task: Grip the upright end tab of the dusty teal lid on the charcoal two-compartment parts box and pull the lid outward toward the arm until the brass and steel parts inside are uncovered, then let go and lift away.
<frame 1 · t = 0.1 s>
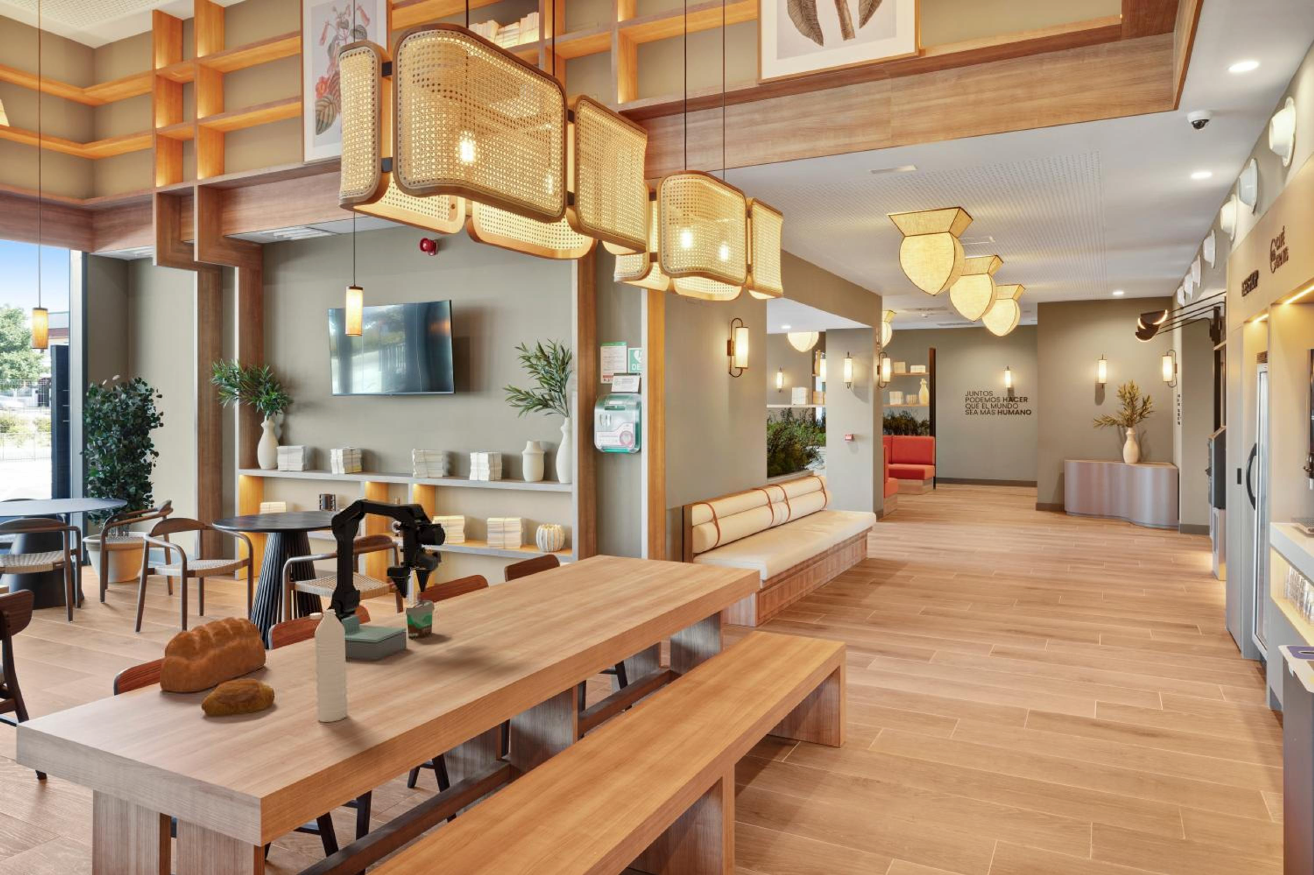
hand: (413, 595, 260), 15 cm above the table, fingers open, 9 cm apart
lid: (368, 626, 249), point 8 cm above the table, slide at 0.0 cm
water bottle: (329, 719, 193), on the table
food container: (424, 635, 269), on the table
parts box: (369, 652, 249), on the table
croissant: (240, 708, 203), on the table
bread: (215, 679, 228), on the table
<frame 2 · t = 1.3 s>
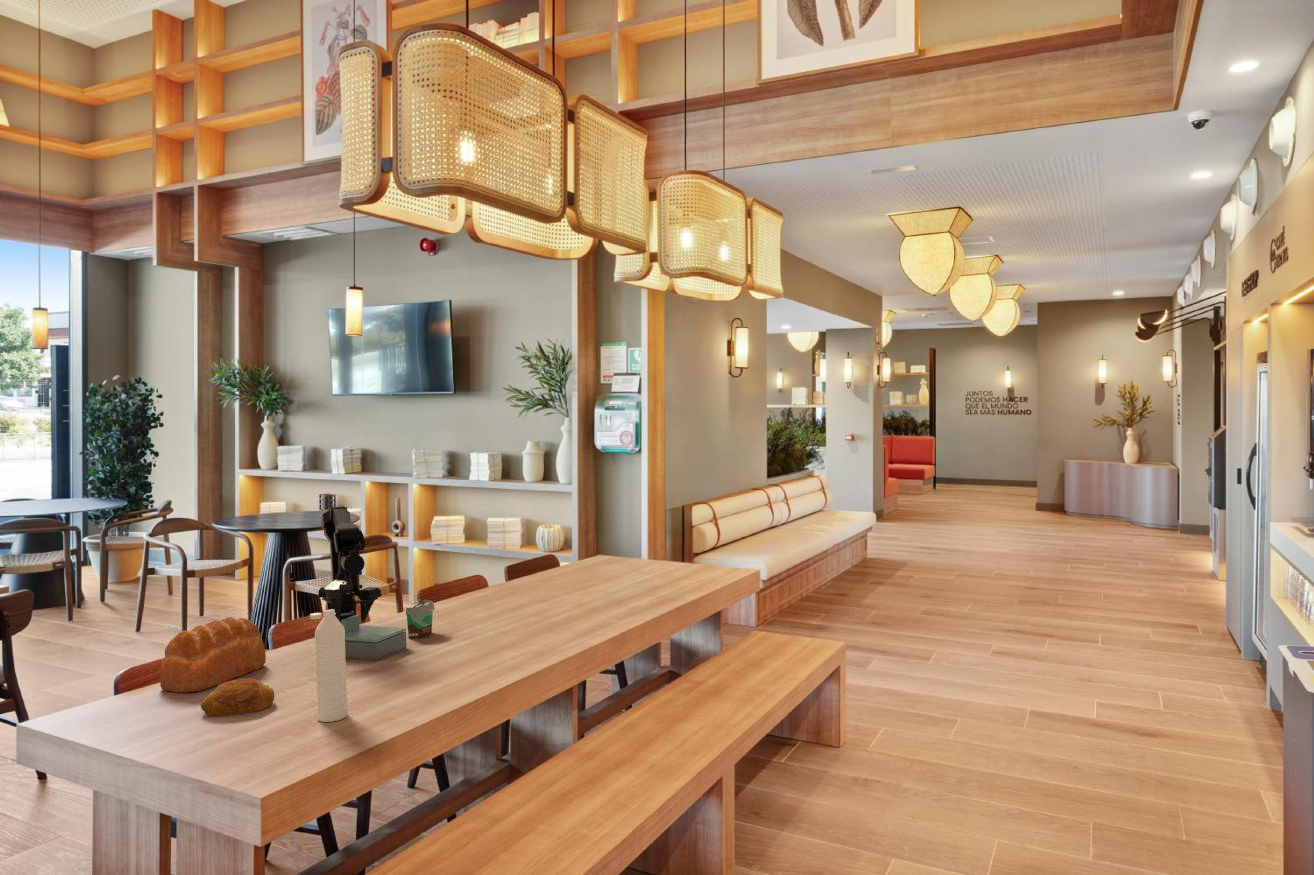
hand: (350, 621, 252), 9 cm above the table, fingers open, 9 cm apart
nothing on the table moved.
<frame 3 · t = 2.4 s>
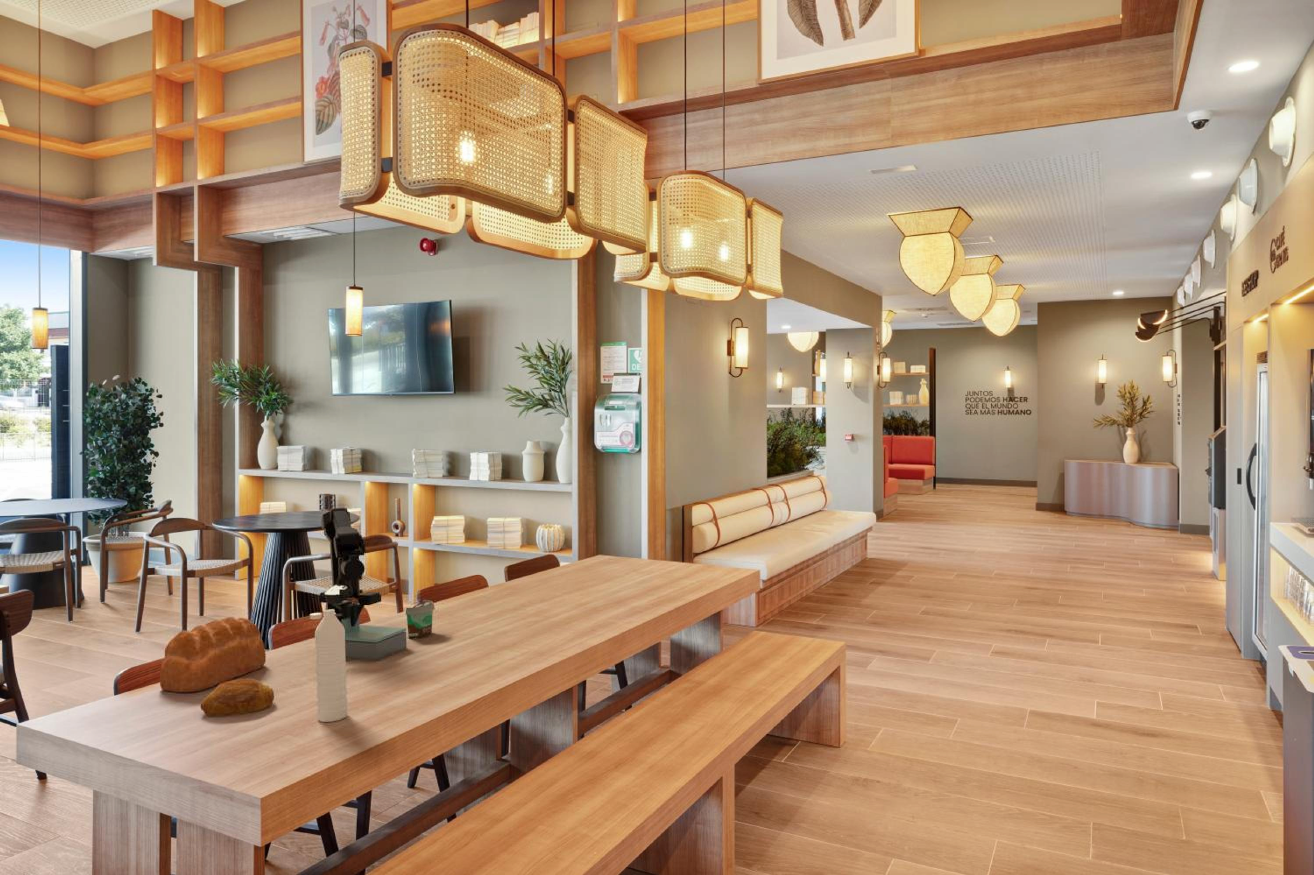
hand: (350, 626, 251), 8 cm above the table, fingers closed, pressing on lid
lid: (368, 626, 249), point 8 cm above the table, slide at 0.0 cm, touching gripper
everything else where it was.
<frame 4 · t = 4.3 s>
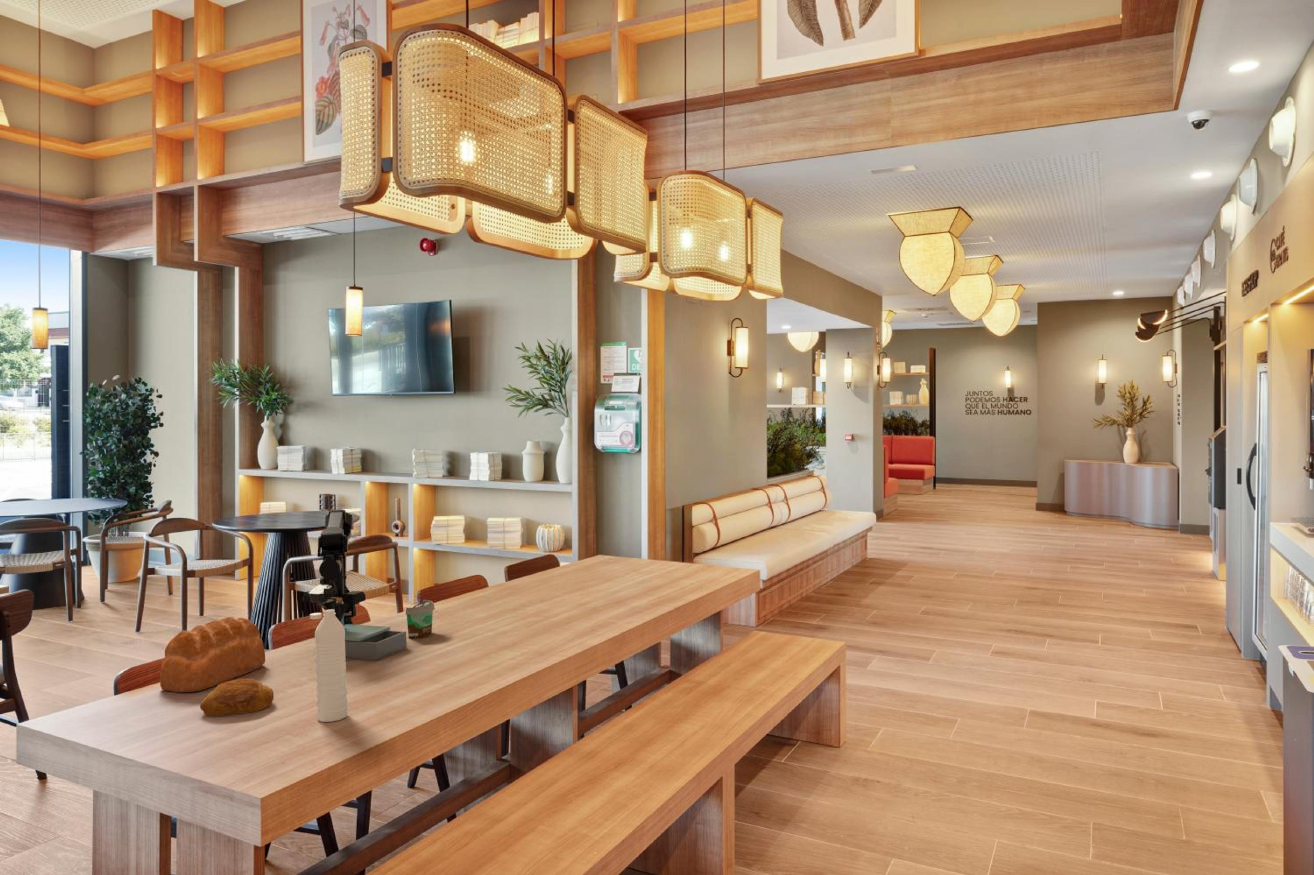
hand: (335, 625, 253), 8 cm above the table, fingers closed on lid, 2 cm apart
lid: (352, 625, 251), point 8 cm above the table, slide at 5.7 cm, touching gripper
everything else where it was.
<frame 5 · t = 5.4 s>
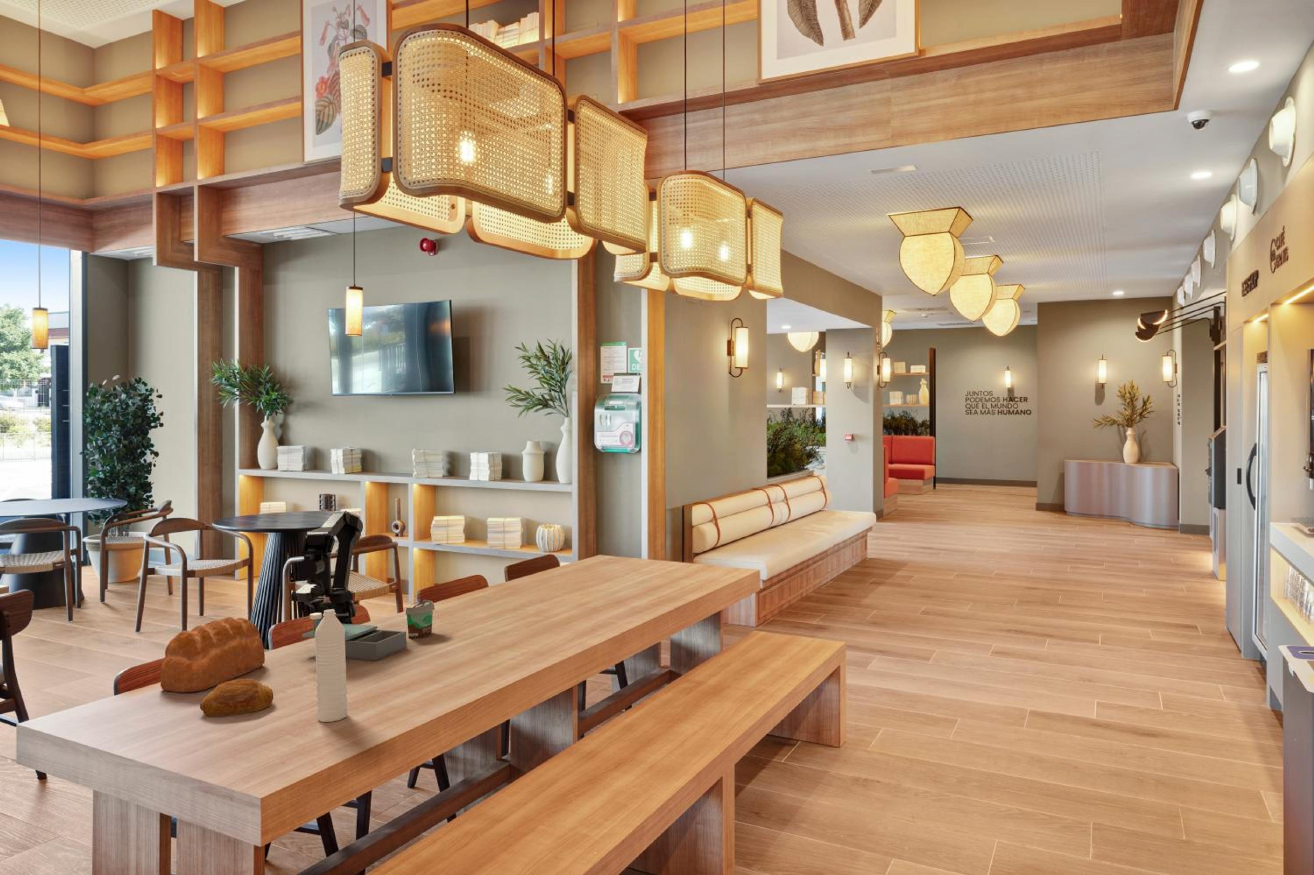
hand: (322, 624, 255), 8 cm above the table, fingers closed on lid, 2 cm apart
lid: (340, 624, 253), point 8 cm above the table, slide at 10.3 cm, touching gripper
everything else where it was.
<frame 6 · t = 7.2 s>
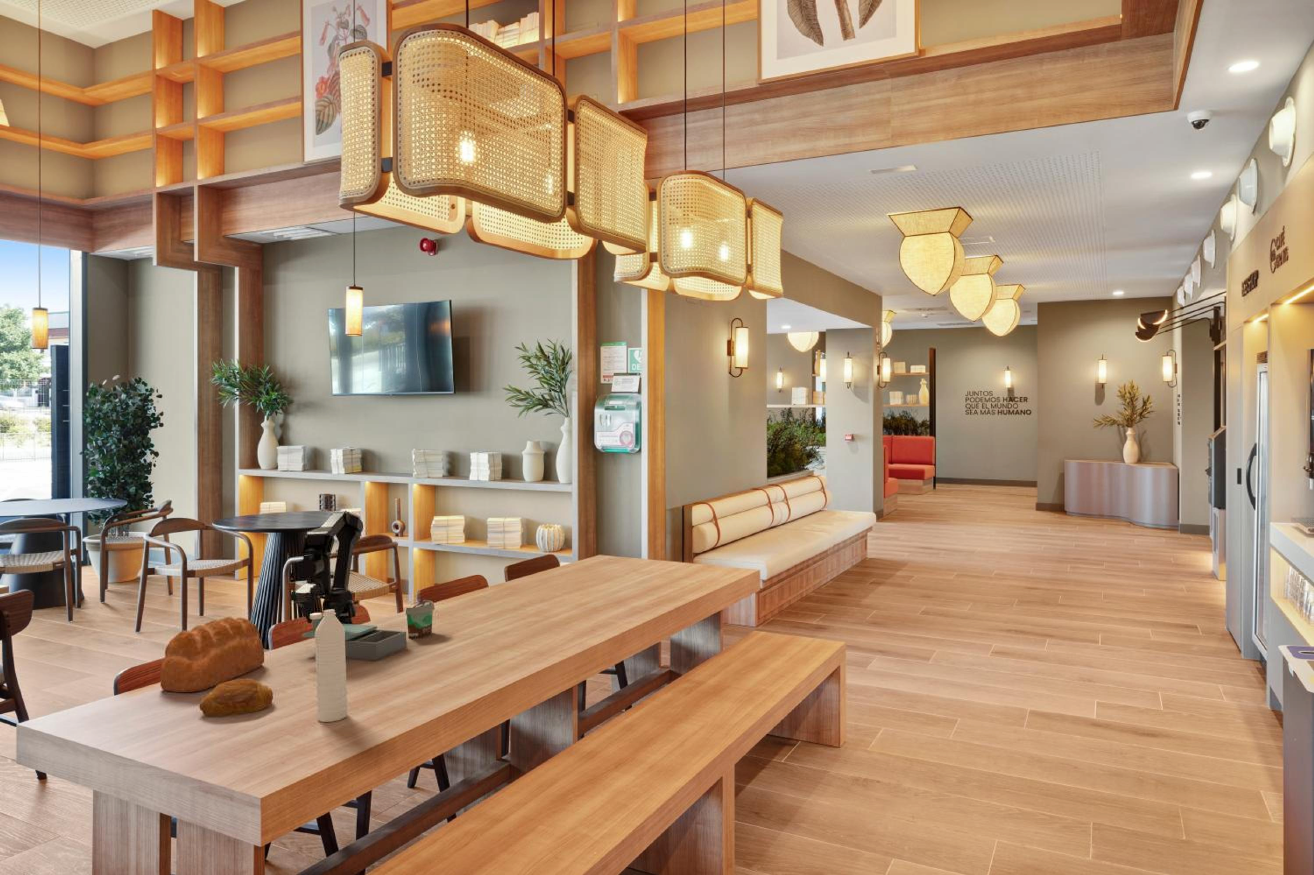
hand: (322, 623, 255), 8 cm above the table, fingers open, 9 cm apart
lid: (339, 624, 253), point 8 cm above the table, slide at 10.4 cm
everything else where it was.
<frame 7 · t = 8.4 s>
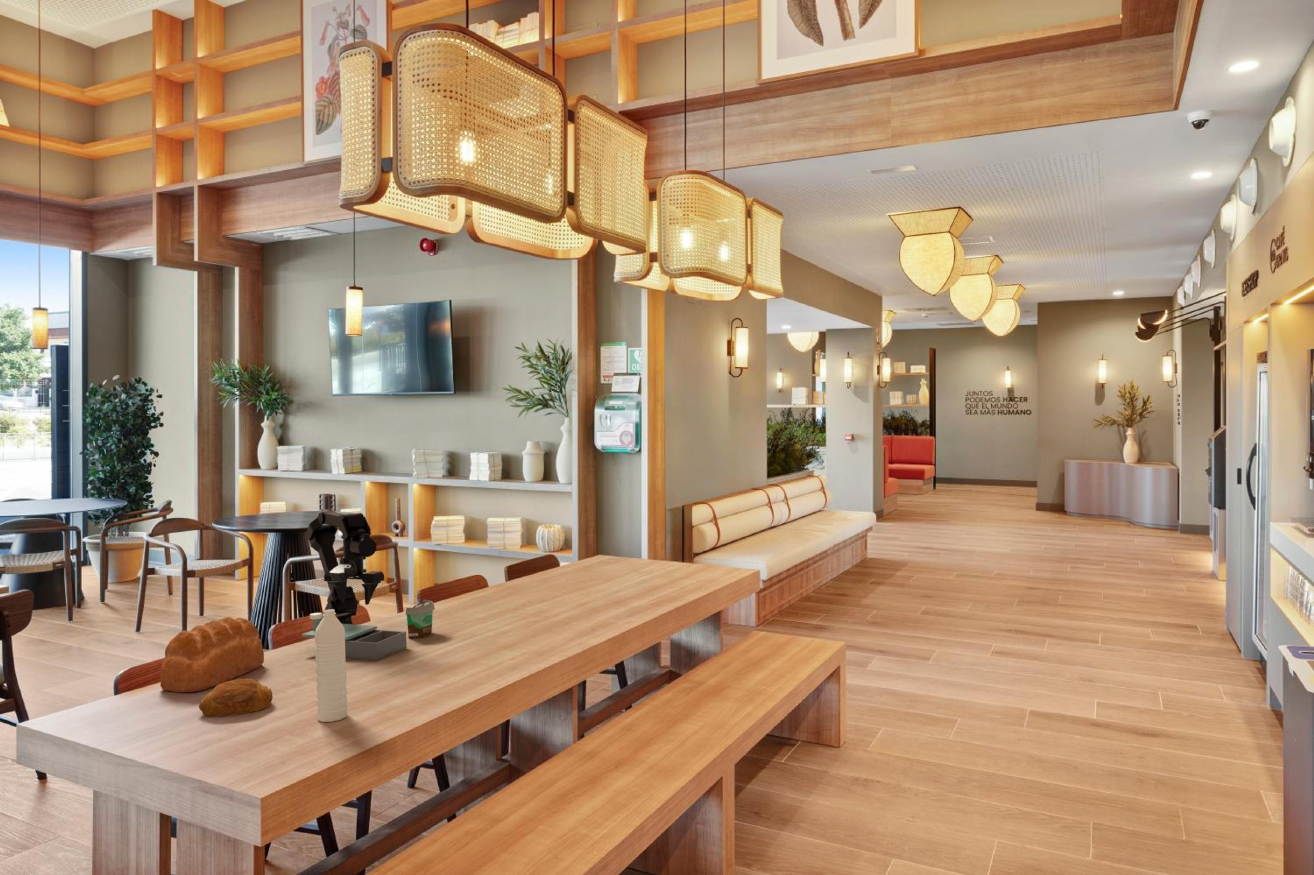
hand: (354, 603, 262), 12 cm above the table, fingers open, 9 cm apart
nothing on the table moved.
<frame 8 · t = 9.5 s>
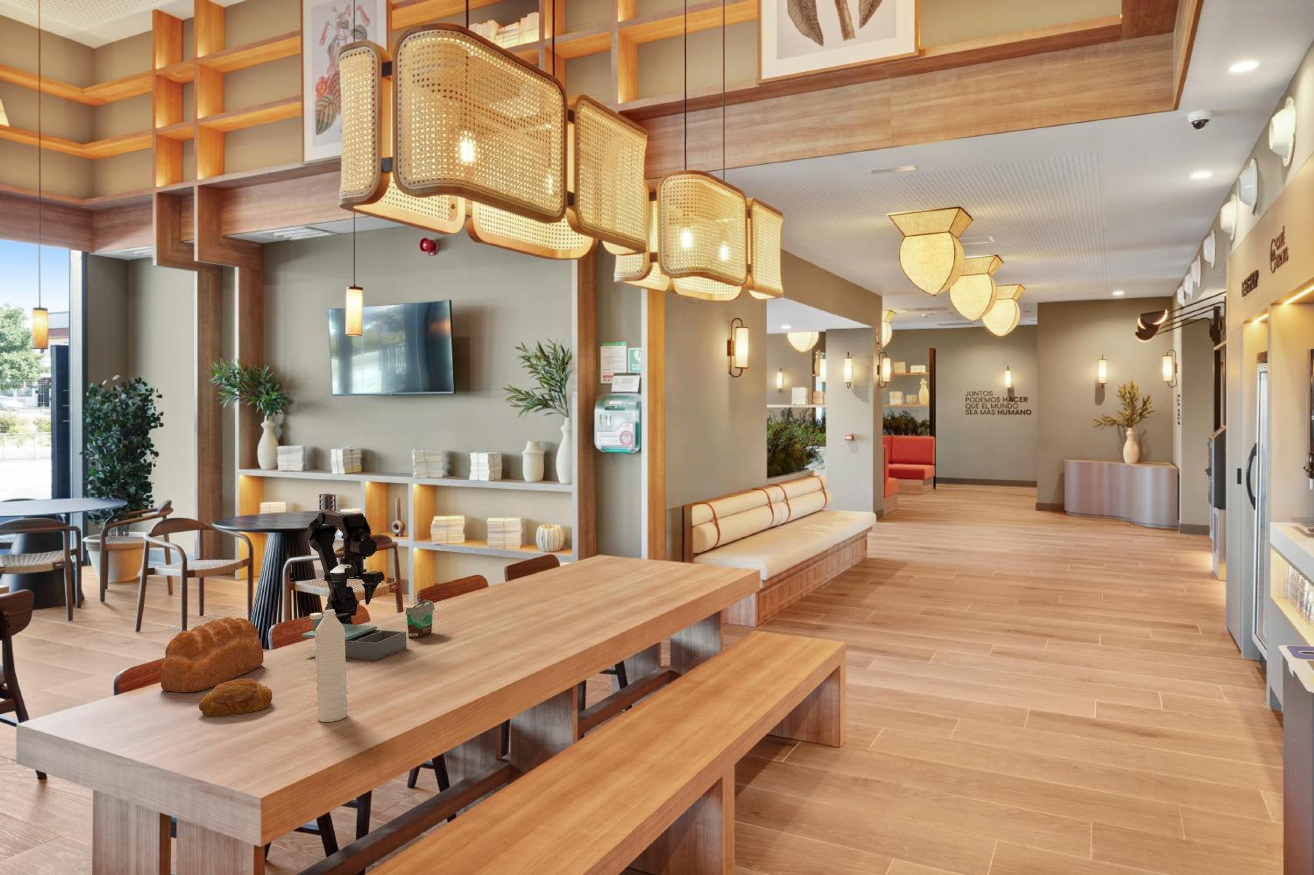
hand: (355, 603, 262), 12 cm above the table, fingers open, 9 cm apart
nothing on the table moved.
at the end: lid slide at 10.4 cm; the gripper is holding nothing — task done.
